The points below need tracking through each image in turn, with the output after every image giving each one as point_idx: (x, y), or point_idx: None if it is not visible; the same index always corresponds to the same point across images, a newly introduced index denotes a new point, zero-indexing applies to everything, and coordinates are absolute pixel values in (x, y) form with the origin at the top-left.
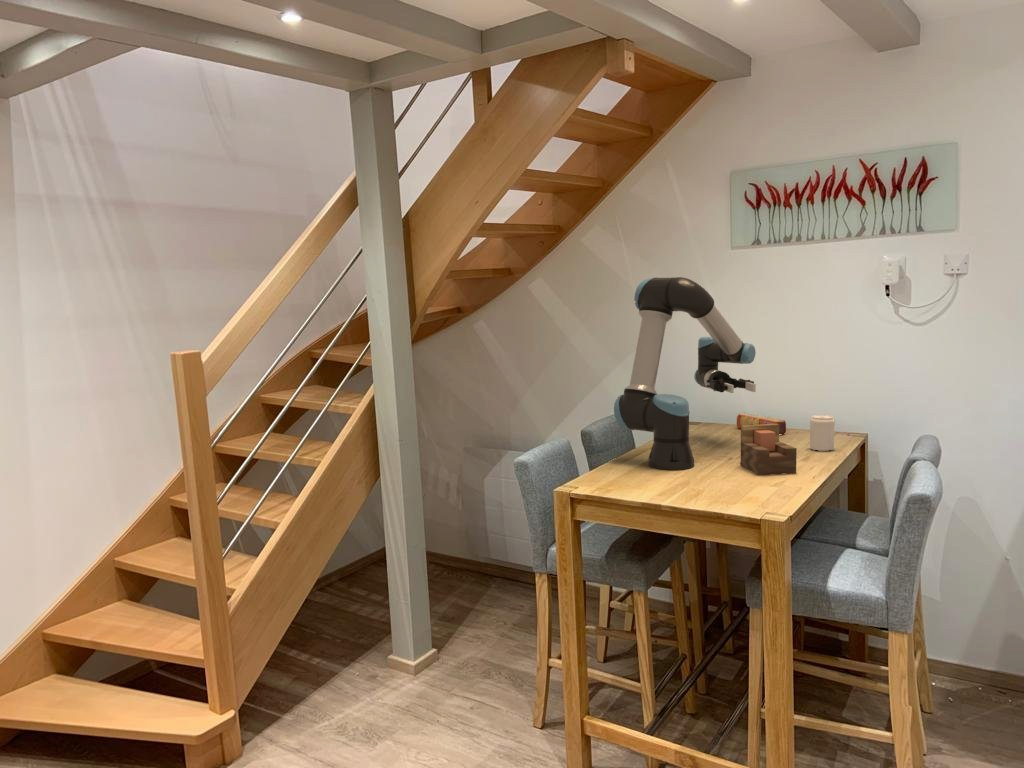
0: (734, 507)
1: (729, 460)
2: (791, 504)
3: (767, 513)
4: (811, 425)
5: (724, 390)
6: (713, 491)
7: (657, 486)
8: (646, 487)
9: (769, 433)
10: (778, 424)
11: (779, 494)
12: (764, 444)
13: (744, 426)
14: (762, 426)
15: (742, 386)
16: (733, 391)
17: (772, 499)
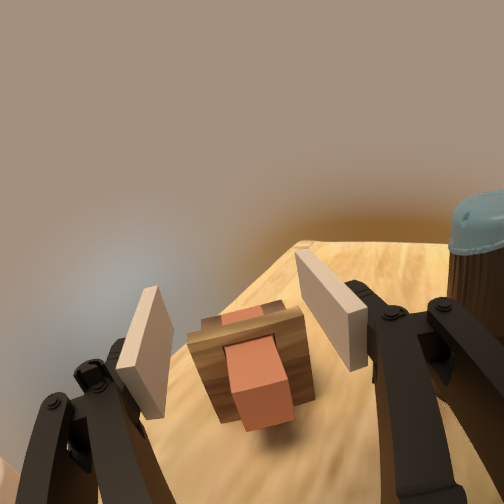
0: (336, 250)
1: (339, 447)
2: (278, 264)
3: (306, 247)
4: (12, 491)
5: (363, 358)
6: (362, 275)
7: (437, 274)
8: (447, 269)
9: (237, 312)
10: (187, 336)
11: (281, 281)
12: None
13: (294, 307)
14: (240, 323)
15: (151, 458)
16: (301, 288)
17: (294, 269)
